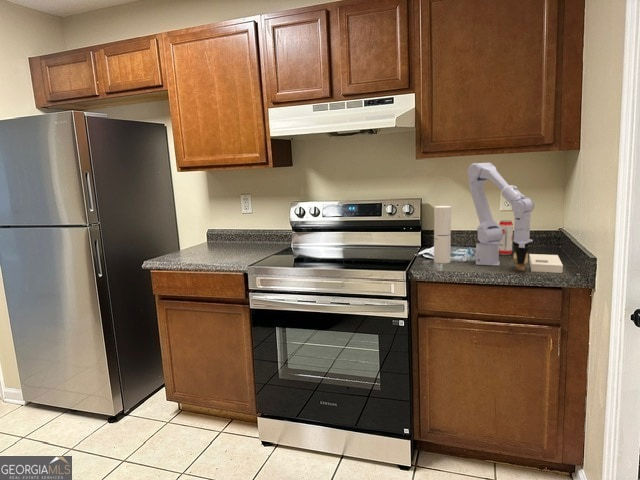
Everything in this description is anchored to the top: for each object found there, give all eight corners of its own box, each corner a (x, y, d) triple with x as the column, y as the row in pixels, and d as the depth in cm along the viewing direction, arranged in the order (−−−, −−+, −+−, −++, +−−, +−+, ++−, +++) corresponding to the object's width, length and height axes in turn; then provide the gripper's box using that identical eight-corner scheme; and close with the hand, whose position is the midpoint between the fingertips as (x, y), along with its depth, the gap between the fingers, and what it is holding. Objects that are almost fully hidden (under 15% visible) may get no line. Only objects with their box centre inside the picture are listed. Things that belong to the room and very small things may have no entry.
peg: (513, 271, 174) (513, 254, 173) (513, 268, 179) (513, 251, 178) (527, 272, 172) (528, 254, 171) (527, 269, 177) (527, 252, 176)
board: (531, 271, 173) (531, 264, 173) (529, 260, 191) (529, 253, 191) (562, 273, 169) (562, 265, 168) (557, 261, 187) (557, 255, 186)
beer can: (508, 252, 209) (509, 219, 207) (514, 255, 203) (515, 221, 200) (495, 253, 209) (496, 220, 206) (501, 255, 203) (502, 222, 200)
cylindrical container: (446, 264, 191) (446, 207, 186) (431, 262, 195) (431, 207, 191) (452, 261, 196) (453, 206, 192) (438, 259, 201) (438, 205, 196)
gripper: (534, 231, 165) (532, 266, 167) (532, 226, 178) (530, 258, 180) (513, 231, 167) (512, 265, 170) (513, 226, 181) (512, 257, 183)
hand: (520, 261), depth 175 cm, fingers closed on peg, 5 cm apart
